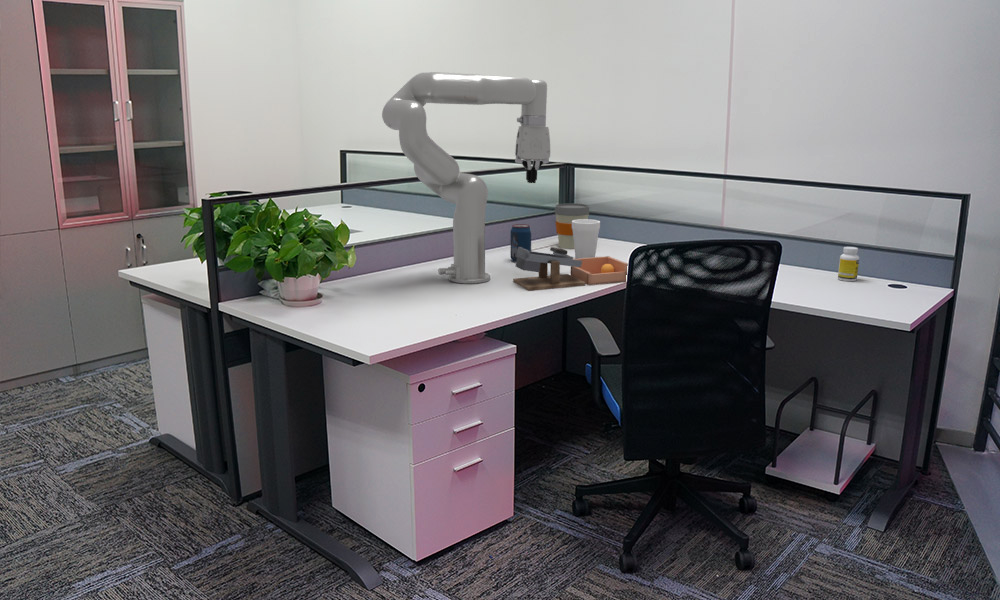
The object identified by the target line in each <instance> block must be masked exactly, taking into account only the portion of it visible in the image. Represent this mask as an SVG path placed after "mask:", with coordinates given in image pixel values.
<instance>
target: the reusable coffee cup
mask: <svg viewBox="0 0 1000 600" xmlns="http://www.w3.org/2000/svg"><path fill="white" fill-rule="evenodd" d="M554 214H555V221H554V222H555V231H556V234H557V239H558V247H559V248H560V249H564V250H575V248H574V239H573V230H572V221H573V220H578V219H589V214H590V205H588V204H586V203H558V204H555V208H554Z"/></svg>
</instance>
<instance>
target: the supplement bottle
mask: <svg viewBox="0 0 1000 600" xmlns="http://www.w3.org/2000/svg"><path fill="white" fill-rule="evenodd" d="M858 252H859V247H856V246H844V247H843V253H842V254H841V255H839V262H838V263H839V265H838V272H837V279H838V280H840V281H842V282H843V281H844V282H856V281H857V280H858V273H859V266H860V264H859V263H860V256H859V255H858Z"/></svg>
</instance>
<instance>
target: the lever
mask: <svg viewBox="0 0 1000 600" xmlns="http://www.w3.org/2000/svg"><path fill="white" fill-rule="evenodd" d="M549 251H550V252H552V253H547V252H539V251H532V250H531V251H528V250H526V249H524V248H522V247H518V252H517V260H516V262H515V268H518V269H519V270H522V271H524V272H525V271H526V272H531V273H532V272H535V273H539V269H540V264H541V262H542V263H548V264H550V265H551V262H552V261H559V262H560V266H565V267H566V266H567V267H571V266H573V267H580V268H581V265H582V261H581V260H573V259H574V256H571V255H569V254H568V250H567V249H565V248H561V247H559V248H558V247H552V246H551V247H550V248H549Z"/></svg>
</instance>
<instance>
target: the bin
mask: <svg viewBox="0 0 1000 600" xmlns="http://www.w3.org/2000/svg"><path fill="white" fill-rule="evenodd" d="M573 260H581V261H582V265H581V268H580V267H573V266H570V275H571V276H573V277H575V278H577V279H580V280H582V281H584V282H585V285H587V286H594V285H596V286H597V285H605V284H615V283H626V282H625V281H626V275H627V276H628V274H627V266H628V267H629V263H628V262H624V261H622V260H619V259H618V258H615V257H613V256H610V255H607V256H595V257H592V258H580V259H576V258H573ZM605 264H611V265H612V266H613V267H614V272H610V273H601V268H602V266H603V265H605Z"/></svg>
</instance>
